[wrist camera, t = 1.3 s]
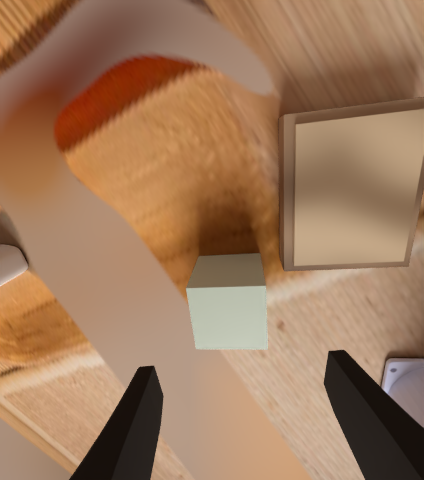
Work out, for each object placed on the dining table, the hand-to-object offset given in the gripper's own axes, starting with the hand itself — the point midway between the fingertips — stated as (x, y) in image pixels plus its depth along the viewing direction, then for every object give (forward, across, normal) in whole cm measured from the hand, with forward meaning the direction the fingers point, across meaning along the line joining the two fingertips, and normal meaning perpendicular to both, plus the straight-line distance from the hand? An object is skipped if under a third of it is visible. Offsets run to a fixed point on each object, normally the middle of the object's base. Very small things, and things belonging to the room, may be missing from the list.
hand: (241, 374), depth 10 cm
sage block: (+10, 0, +3) cm, 11 cm away
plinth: (+10, -8, -4) cm, 14 cm away
